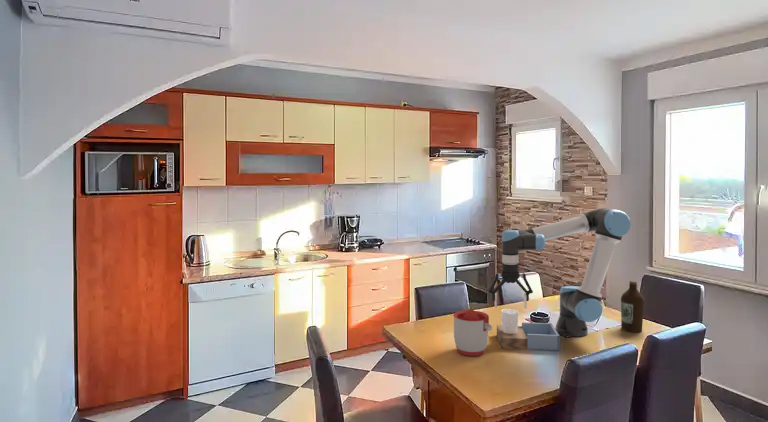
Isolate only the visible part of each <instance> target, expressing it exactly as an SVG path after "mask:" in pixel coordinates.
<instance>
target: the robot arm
mask: <svg viewBox="0 0 768 422" xmlns="http://www.w3.org/2000/svg"><path fill="white" fill-rule="evenodd" d="M631 226H632V223H631V218H630V217H629V215H628V214H627V213H625V212H624V211H622V210H618V209H613V208H606V207H603V208H596V209H594V210H590V211H587V212H583V213H580V214H579V216H575V217H571V218H567V219H563V220H561V221H555V222H552V223H547V224H543V225H539V226H536V227H532V228H528V229H519V230H518V229H517V230H514V229H507V230H503V231H502V233H501V262H502V264H501V273H498V272H495V274H494V278H493V280H492V281H491V284H490V286H489V288H488V290H487V291H488V293H490V294H491V296H492V297H491V299H492V301H493V302H494V309H497V308H498V306H497V305H498V304H497V303H498V301H497V300H498V294H497V292H498V291H499V290H500V288H502V286H503V285H504V284H505V283H507V284H514V283H516V284H517V285H518V286H519V287H520V288H521V290H522V291H523V292H524V293H523V308H524V309H527V308H528V307H527V306H528V305H527V302H529V300H530V297H529V296H530V294H533V293H534V291H533V289H532V288H531V285H530V283H529V281H528V279H527V275H526V272H522V273H519V271H520V269H519V262H520V259H519V257H520V255H519V251H539V250H540V251H541V250H542V251H543V250H544V249H545V245H546V241H549V240H553V239H557V238H562V237H566V236H569V235H573V234H577V233H581V232H584V233H591V232H594V235H595V237H596V240H595V242H594V246H593V249H592V252H591V255H590V258H589V260H588V261H589V262H588V264H587V267H586V270H585V273H584V276H583V278H582V279H583V280H582V283H581V285H580V286H578V285H577V286H575V285H574V286H573V285H568V286H567V285H566V286H562V287H560V292H559V316H558V318H557V321H556V323H555V330H556V331H557V333H558V334H561V335H564V334H565V335H564V336H568V335H570V337H585V336H587V335H588V332H589V329H588V325H587V323H593V322H595V321H597V320H599V318H600V317H601V316H602V314H603V310H604V309H603V305H602V299H603V296H602V293H601V290H602V287H603V286H604V282H605V279H606V275H607V273H608V270H609V266H610V264H611V261H612V258H613V254H614V251H615V248H616V245H617V244H618V243H620V242H622V238H623V237H624V236H625V235H626V234H628V233H629V231H630V229H631ZM500 277H501V278H502V279H501V280H500V282H499V283H497V282H498V279H500ZM519 278H521V279H522V280H523V282H524V283H525V286H526V287H527V289H526V287H525V286H524V285H523V284H522V283H521V282H520V281H519V280H518V279H519ZM496 284H497V285H496ZM495 286H496V287H495Z"/></svg>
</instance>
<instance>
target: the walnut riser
mask: <svg viewBox="0 0 768 422" xmlns="http://www.w3.org/2000/svg"><path fill="white" fill-rule="evenodd" d="M496 338H497V341H498V345H499V349H504V350H505V349H507V350H525V351H526V350H527V342H528V339H527V337H526V334H525V332H524V330H523V328H522V325H518V326H517V333H515V334H507V333H504V332H503V331H502V324H500V325H499V324H498V325H496Z"/></svg>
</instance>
